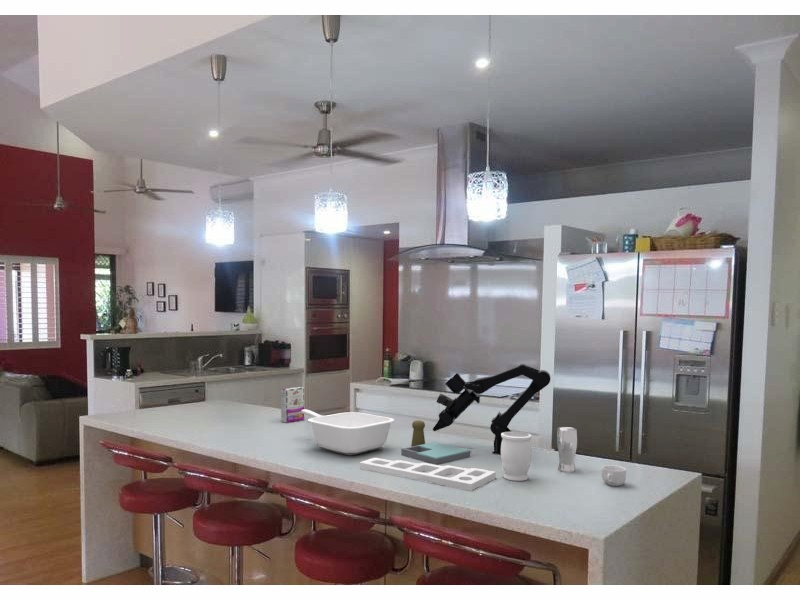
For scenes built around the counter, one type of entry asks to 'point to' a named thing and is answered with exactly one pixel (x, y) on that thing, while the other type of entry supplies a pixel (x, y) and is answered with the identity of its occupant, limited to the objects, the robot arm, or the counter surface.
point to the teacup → (613, 475)
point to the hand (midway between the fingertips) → (435, 428)
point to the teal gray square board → (435, 452)
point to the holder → (432, 472)
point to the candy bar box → (292, 404)
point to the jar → (516, 455)
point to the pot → (349, 431)
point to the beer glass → (566, 448)
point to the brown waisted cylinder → (418, 433)
